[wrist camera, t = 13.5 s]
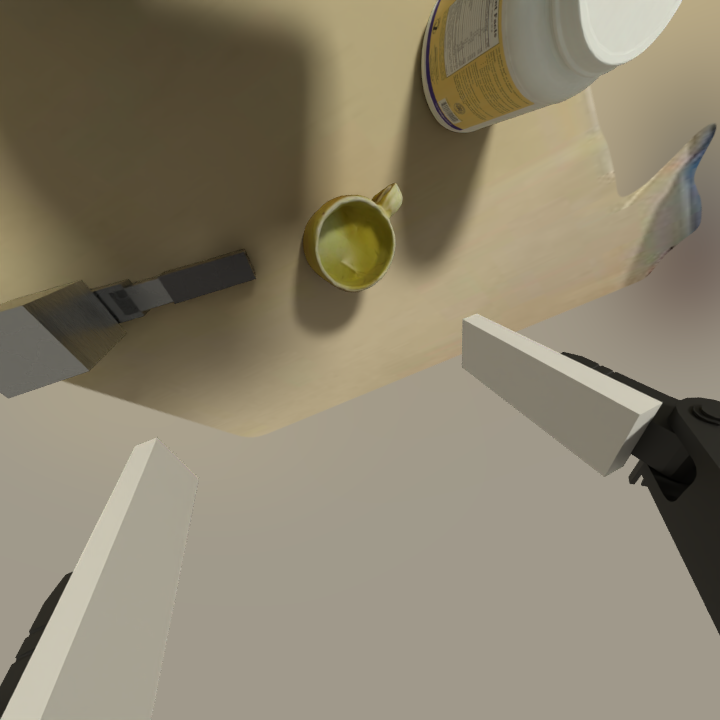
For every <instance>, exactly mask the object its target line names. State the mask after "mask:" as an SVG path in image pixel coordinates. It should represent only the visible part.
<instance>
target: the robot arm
mask: <svg viewBox="0 0 720 720" xmlns="http://www.w3.org/2000/svg"><path fill="white" fill-rule="evenodd" d="M462 368H464V369H465V370H466V371H468V372H469V373H470V374H472V375H473V376H474V377H475V378H477V379H478V380H479V381H481V382H482V383H483V384H485V385H486V386H487V387H488V388H490V389H491V390H492V391H494V392H495V393H496V394H498V395H499V396H500V397H501V398H503V399H504V400H505V401H506V402H508V403H509V404H510V405H512V406H513V407H514V408H516V409H517V410H518V411H520V412H521V413H522V414H523V415H525V416H526V417H527V418H529V419H530V420H531V421H533V422H534V423H535V424H536V425H538V426H539V427H540V428H542V429H543V430H544V431H545V432H547V433H548V434H549V435H551V436H552V437H553V438H555V439H556V440H557V441H559V442H560V443H561V444H563V445H564V446H565V447H566V448H568V449H569V450H570V451H571V452H573V453H574V454H575V455H577V456H578V457H579V458H581V459H582V460H583V461H584V462H586V463H587V464H588V465H590V466H591V467H592V468H593V469H595V470H596V471H598V472H599V473H600V474H601V475H603V476H604V477H605V476H607V475H609V474H610V473H612V472H614V471H616V470H618V469H619V468H621V467H623V466H624V464H625V463H626V461H627V459H628V458H629V456H630V455H631V454H632V455H634V456H635V457H637V458H638V459H640V460H639V462H638V463H637V465H636V466H635V468H634V469H633V471H632V472H631V474H630V476H629V482H630V484H635V483H636V481H637V480H638V478H639V477H640V476H641V475H642V476H643V478H644V479H643V480H642V483H641V485H642V486H647V487H648V489H649V491H650V493H651V495H652V497H653V499H654V501H655V503H656V505H657V507H658V509H659V511H660V514H661V515H662V517H663V520H664V522H665V524H666V526H667V528H668V530H669V532H670V534H671V536H672V538H673V540H674V542H675V544H676V546H677V548H678V550H679V552H680V555H681V557H682V559H683V561H684V563H685V565H686V567H687V569H688V571H689V573H690V575H691V577H692V579H693V581H694V583H695V585H696V587H697V589H698V591H699V594H700V596H701V597H702V600H703V602H704V603H705V606H706V608H707V610H708V612H709V614H710V616H711V618H712V620H713V622H714V624H715V626H716V628H717V630H718V633H719V634H720V402H719V401H716V400H712V399H705V398H685V399H683V400H678V399H675V398H673V397H670V396H668V395H666V394H663V393H661V392H659V391H657V390H654V389H652V388H650V387H648V386H646V385H644V384H641V383H639V382H637V381H635V380H633V379H630V378H628V377H626V376H624V375H621V374H619V373H617V372H615V373H614V372H613V371H612V370H611V369H609V368H606V367H604V366H599V364H598V363H595V362H593V361H591V360H589V359H587V358H584V357H582V356H578V355H574V354H570V353H566V352H563V353H558V352H556V351H554V350H552V349H549V348H548V347H545V346H543V345H541V344H539V343H537V342H535V341H533V340H531V339H529V338H527V337H524V336H523V335H520V334H518V333H516V332H514V331H512V330H510V329H508V328H506V327H504V326H502V325H500V324H498V323H495V322H493V321H491V320H489V319H487V318H485V317H483V316H481V315H479V314H475V315H472V316H470V317H467V318H464V319H463V329H462ZM198 481H199V478H198V477H197V476H196V475H195V474H194V473H193V472H192V471H191V470H190V469H189V468H188V467H187V466H186V465H185V464H184V463H183V462H182V461H181V460H180V459H179V458H178V457H177V456H176V455H175V454H174V453H173V452H172V451H171V450H170V449H169V448H168V447H167V446H166V445H165V444H164V443H163V442H162V441H161V440H160V439H159V438H154V439H151V440H149V441H146V442H144V443H141V444H138V445H136V446H135V447H134V449H133V451H132V453H131V455H130V457H129V459H128V462H127V463H126V465H125V468H124V470H123V472H122V474H121V476H120V478H119V480H118V482H117V484H116V486H115V488H114V490H113V492H112V494H111V496H110V498H109V500H108V502H107V504H106V506H105V508H104V510H103V512H102V514H101V516H100V518H99V521H98V522H97V524H96V527H95V528H94V531H93V533H92V535H91V537H90V539H89V541H88V543H87V545H86V547H85V549H84V551H83V553H82V555H81V557H80V559H79V561H78V563H77V565H76V567H75V569H74V571H73V572H71V573H69V574H66V575H65V576H64V578H63V579H62V580H61V581H60V583H59V584H58V585H57V587H56V588H55V589H54V591H53V592H52V593H51V595H50V596H49V597H48V599H47V600H46V601H45V603H44V604H43V606H42V608H41V610H40V612H39V614H38V616H37V618H36V620H35V621H34V623H33V625H32V627H31V629H30V631H29V632H30V635H29V637H27V638H26V639H25V640H24V642H23V644H22V646H21V648H20V650H19V652H18V654H17V656H16V659H17V660H16V662H15V663H14V664H12V665H11V667H10V669H9V671H8V673H7V674H6V676H5V678H4V680H3V682H2V684H1V686H0V720H151V718H152V713H153V708H154V703H155V698H156V693H157V688H158V682H159V678H160V673H161V667H162V662H163V657H164V652H165V647H166V642H167V637H168V632H169V627H170V622H171V617H172V612H173V607H174V602H175V597H176V592H177V587H178V581H179V577H180V572H181V567H182V562H183V557H184V552H185V546H186V542H187V537H188V531H189V526H190V521H191V516H192V511H193V505H194V501H195V496H196V491H197V486H198Z"/></svg>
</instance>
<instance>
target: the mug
mask: <svg viewBox="0 0 720 720" xmlns="http://www.w3.org/2000/svg"><path fill="white" fill-rule="evenodd" d="M402 200H403V197H402V194H401V192H400V189H399V187H398V185H397V184H396V183H393V184H391V185H389V186H387V187H386V188H385V189H383V190H382V191H381V192H379V193H378V194H377V195H375V196H374V197H373V199H372V200H370V199H368V198H367V197H364V196H360V195H345V196H339V197H336V198H334V199H332V200H330V201H328V202H326V203H325V204H324V205H323V206H322V207H321V208H320V209H319V210H318V211H316V212H315V213H314V215H313V216H312V217H311V218H310V220H309V221H308V223H307V225H306V227H305V231H304V235H303V249H304V253H305V257H306V259H307V261H308V263H309V265H310V267H311V268H312V269H313V270H314V271H315V272H316V273H317V274H318V275H319V276H321V277H322V278H323V279H324V280H326V281H327V282H329V283H330V284H332V285H333V286H335V287H337V288H339V289H341V290H344V291H347V292H358V291H362V290H365V289H368V288H370V287H372V286H373V285H375V284H376V283H377V282H378V281H379V280H381V279H382V277H383V276H384V275H385V273H386V272H387V270H388V269H389V267H390V265H391V263H392V260H393V257H394V253H395V234H394V231H393V228H392V225H391V223H390V220H389V219H390V217H391V216H392V215H393V214H394V213H395V212H397V210H398V209H399V207H400V206H401V205H402Z"/></svg>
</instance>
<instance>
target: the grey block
mask: <svg viewBox="0 0 720 720" xmlns="http://www.w3.org/2000/svg"><path fill="white" fill-rule="evenodd" d="M126 334H127V333H126V332H125V331H124V329H123V328H122V327H121V326H120V325H119V323H118V322H117V321H116V320H115V319H114V317H113V316H112V315H111V314H110V313H109V311H108V310H107V309H106V308H105V307H104V306H103V304H102V303H101V302H100V301H99V300H98V298H97V297H96V296H95V295H94V294H93V292H92V291H91V290H90V289H89V288H88V286H87V285H86V284H85V283H84V282H83V280H80V281H76V282H73V283H69V284H66V285H62V286H59V287H55V288H52V289H48V290H45V291H41V292H38V293H34V294H31V295H27V296H24V297H20V298H17V299H13V300H10V301H7V302H5V303H2V304H0V393H1V394H3V395H4V396H6V397H7V398H11V397H14V396H17V395H20V394H23V393H26V392H29V391H32V390H35V389H38V388H41V387H43V386H46V385H49V384H52V383H55V382H58V381H61V380H64V379H67V378H70V377H73V376H76V375H79V374H82V373H85V372H88V371H90V370H91V369H92V368H93V367H94V366H95V365H96V364H97V363H98V362H99V361H100V360H101V359H102V358H103V357H104V356H105V355H106V354H107V353H108V352H109V351H110V350H111V349H112V348H113V347H114V346H115V345H116V344H117V343H118V342H119V341H120V340H121V339H122V338H123V337H124V336H125V335H126Z"/></svg>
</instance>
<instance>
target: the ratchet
mask: <svg viewBox="0 0 720 720" xmlns="http://www.w3.org/2000/svg"><path fill="white" fill-rule="evenodd" d="M254 279H256V274H255V272H254V269H253V267H252V265H251V262H250V260H249V258H248V256H247V253H246V251H245V249H242V250H239V251H235V252H232V253H229V254H225V255H222V256H218V257H215V258H211V259H208V260H204V261H201V262H197V263H194V264H190V265H187V266H183V267H180V268H176V269H173V270H169V271H166V272H163V273H162V274H161V275H159V276H156V277H152V278H149V279H145V280H142V281H138V282H135V283H131V282H130V280H129V279H126V280H123V281H119V282H116V283H112V284H109V285H105V286H102V287H98V288H95V289H90V290H91V291H92V292H93V294H94V295H95V296H96V297H97V298H98V300H99V301H100V302H101V303H102V304H103V306H104V307H105V308H106V309H107V310H108V311H109V313H110V314H111V315H112V316H113V317H114V319H115V320H116V321H117V322H118V323H122V322H125V321H129V320H132V319H135V318H138V317H141V316H144V315H145V314H146V313H147V312H148V311H149V310H150V309H151V308H154V307H157V306H161V305H164V304H167V303H170V302H174V303H175V304H176V303H179V302H182V301H185V300H189V299H192V298H195V297H198V296H202V295H205V294H208V293H211V292H215V291H218V290H221V289H224V288H228V287H231V286H234V285H237V284H241V283H244V282H247V281H250V280H254Z"/></svg>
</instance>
